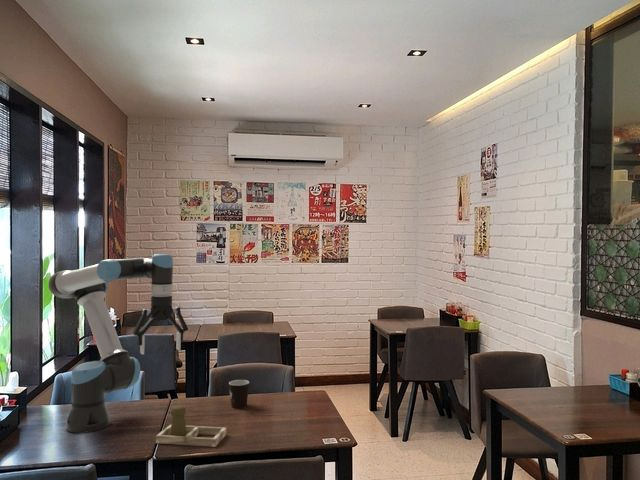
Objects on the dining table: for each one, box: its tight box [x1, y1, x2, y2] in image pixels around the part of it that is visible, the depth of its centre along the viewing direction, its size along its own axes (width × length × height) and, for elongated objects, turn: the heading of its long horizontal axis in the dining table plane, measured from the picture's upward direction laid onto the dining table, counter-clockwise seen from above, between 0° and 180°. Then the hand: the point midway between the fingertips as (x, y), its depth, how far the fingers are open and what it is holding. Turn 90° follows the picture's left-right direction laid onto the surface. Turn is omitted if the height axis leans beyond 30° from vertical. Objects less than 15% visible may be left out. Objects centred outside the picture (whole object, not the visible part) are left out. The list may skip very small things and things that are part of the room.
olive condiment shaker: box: [170, 404, 187, 436], centre depth 184 cm, size 6×6×11 cm
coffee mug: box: [228, 379, 250, 410], centre depth 221 cm, size 12×9×10 cm
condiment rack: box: [155, 423, 227, 448], centre depth 183 cm, size 11×22×2 cm, turn 81°
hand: (160, 351), depth 194 cm, fingers open, 13 cm apart
